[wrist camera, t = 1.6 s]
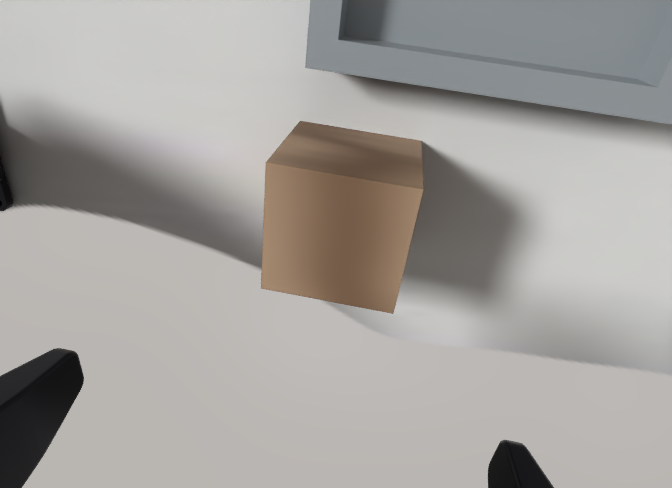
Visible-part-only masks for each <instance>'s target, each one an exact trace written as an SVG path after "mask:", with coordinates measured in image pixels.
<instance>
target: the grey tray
mask: <svg viewBox="0 0 672 488" xmlns="http://www.w3.org/2000/svg"><path fill="white" fill-rule="evenodd" d="M305 68H310V69H317V70H323V71H330V72H336V73H343V74H349V75H355V76H362V77H368V78H375V79H381V80H388V81H394V82H401V83H407V84H413V85H420V86H426V87H433V88H439V89H446V90H452V91H459V92H465V93H472V94H478V95H484V96H491V97H497V98H504V99H510V100H517V101H523V102H530V103H536V104H542V105H549V106H555V107H562V108H568V109H575V110H581V111H588V112H594V113H600V114H607V115H613V116H620V117H626V118H633V119H639V120H646V121H652V122H659V123H665V124H671V125H672V0H311V1H310V14H309V27H308V40H307V53H306V66H305Z"/></svg>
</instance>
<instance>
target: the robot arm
mask: <svg viewBox="0 0 672 488" xmlns="http://www.w3.org/2000/svg"><path fill="white" fill-rule="evenodd" d="M12 205H13V199H12V196H11V192H10V189H9V185H8V182H7V179H6V175H5V172H4V168H3V165H2V162H1V158H0V211H4V210H6V209H8V208H9V207H11V206H12ZM83 381H84V377H83V373H82V368H81V365H80V361H79V357H78V354H77V353H76V352H74V351H71V350H66V349H61V348H60V349H59V348H57V349H53V350H51V351H49V352H47V353H45V354H43V355H41V356H39V357H37V358H35V359H33V360H31V361H29V362H27V363H25V364H23V365H21V366H19V367H17V368H15V369H13V370H11V371H9V372H8V373H5V374H3V375H1V376H0V488H22V486H23V485H24V484H25V482H26V481H27V479H28V477H29V476H30V475H31V473H32V472H33V470H34V469H35V468H36V466H37V465H38V463H39V462H40V460H41V458H42V457H43V455H44V454H45V452H46V450H47V449H48V447H49V445H50V444H51V442H52V440H53V438H54V436H55V435H56V433H57V431H58V429H59V428H60V426H61V424H62V422H63V420H64V419H65V417H66V415H67V413H68V411H69V410H70V408H71V406H72V404H73V402H74V400H75V399H76V397H77V395H78V394H79V392H80V390H81V388H82V385H83ZM488 488H554V487H553V486H552V484H551V483H550V481H549V480H548V478H547V477H546V475H545V474H544V472H543V471H542V470H541V468H540V467H539V465H538V464H537V462H536V461H535V459H534V458H533V456H532V455H531V453H530V452H529V451H528V449H527V448H526V447H525V446H524V445H523V444H521V443H518V442H513V441H509V440H503V441H501V442H500V443H499V445H498V447H497V450H496V451H495V453H494V455H493V457H492V459H491V461H490V464H489V468H488Z"/></svg>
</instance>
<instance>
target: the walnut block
mask: <svg viewBox="0 0 672 488" xmlns="http://www.w3.org/2000/svg"><path fill="white" fill-rule="evenodd" d="M423 190H424V188H423V165H422V142H421V141H418V140H412V139H406V138H400V137H394V136H388V135H382V134H376V133H370V132H364V131H358V130H352V129H346V128H340V127H334V126H328V125H322V124H315V123H309V122H303V121H300V122H299V123H298V124H297V126H296V127H295V128H294V129H293V130H292V132H291V133H290V134H289V135H288V136H287V138H286V139H285V140H284V141H283V142H282V144H281V145H280V146H279V147H278V148H277V150H276V151H275V152H274V153H273V154H272V156H271V157H270V158H269V159H268V161H267V162H266V172H265V198H264V225H263V251H262V278H261V288H262V289H268V290H273V291H278V292H283V293H288V294H294V295H299V296H304V297H309V298H314V299H320V300H325V301H330V302H335V303H340V304H345V305H351V306H356V307H361V308H366V309H371V310H377V311H382V312H387V313H392V314H393V313H394V309H395V305H396V301H397V297H398V292H399V288H400V284H401V280H402V276H403V272H404V268H405V264H406V260H407V256H408V251H409V247H410V243H411V239H412V235H413V231H414V227H415V223H416V219H417V215H418V210H419V206H420V202H421V198H422V194H423Z"/></svg>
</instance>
